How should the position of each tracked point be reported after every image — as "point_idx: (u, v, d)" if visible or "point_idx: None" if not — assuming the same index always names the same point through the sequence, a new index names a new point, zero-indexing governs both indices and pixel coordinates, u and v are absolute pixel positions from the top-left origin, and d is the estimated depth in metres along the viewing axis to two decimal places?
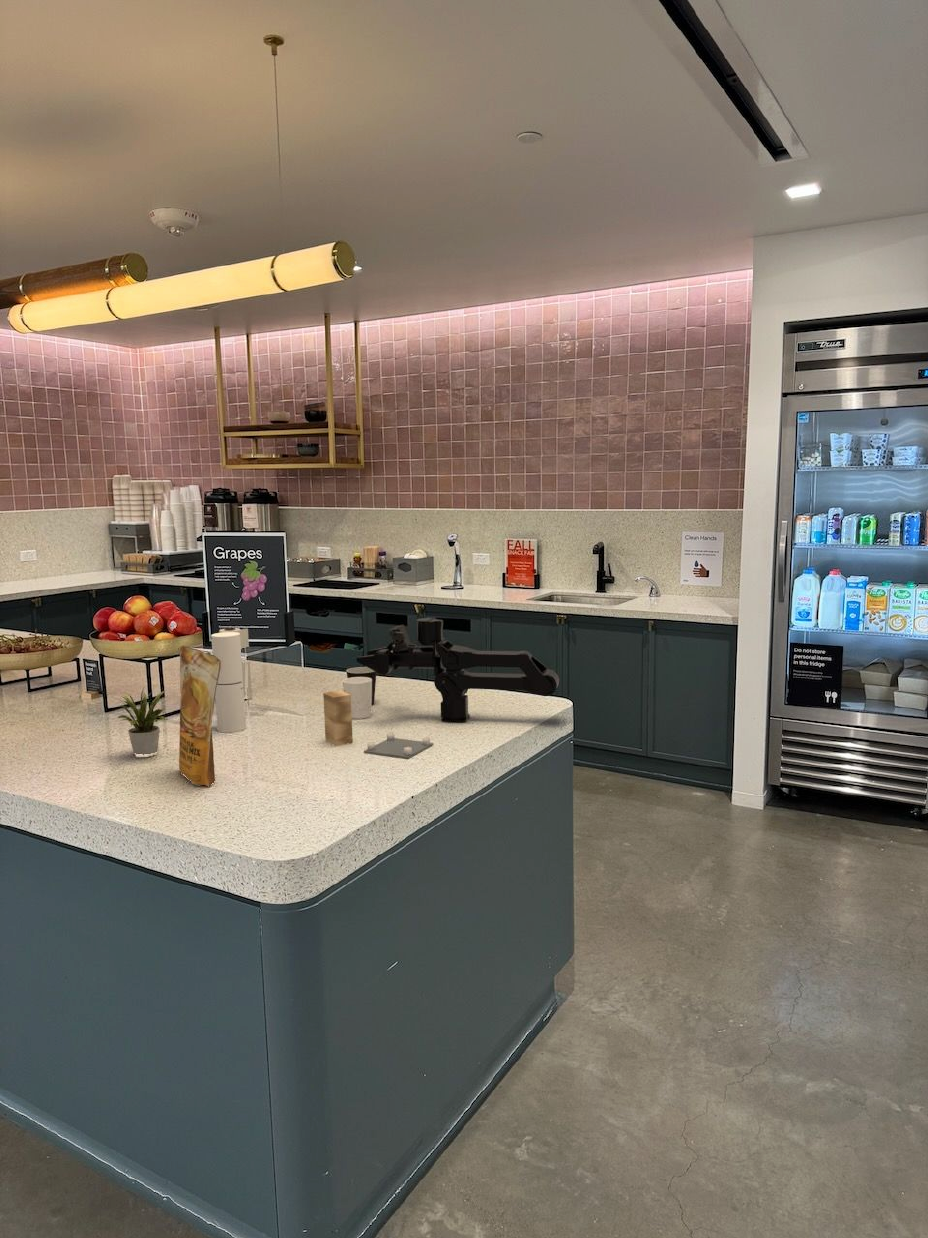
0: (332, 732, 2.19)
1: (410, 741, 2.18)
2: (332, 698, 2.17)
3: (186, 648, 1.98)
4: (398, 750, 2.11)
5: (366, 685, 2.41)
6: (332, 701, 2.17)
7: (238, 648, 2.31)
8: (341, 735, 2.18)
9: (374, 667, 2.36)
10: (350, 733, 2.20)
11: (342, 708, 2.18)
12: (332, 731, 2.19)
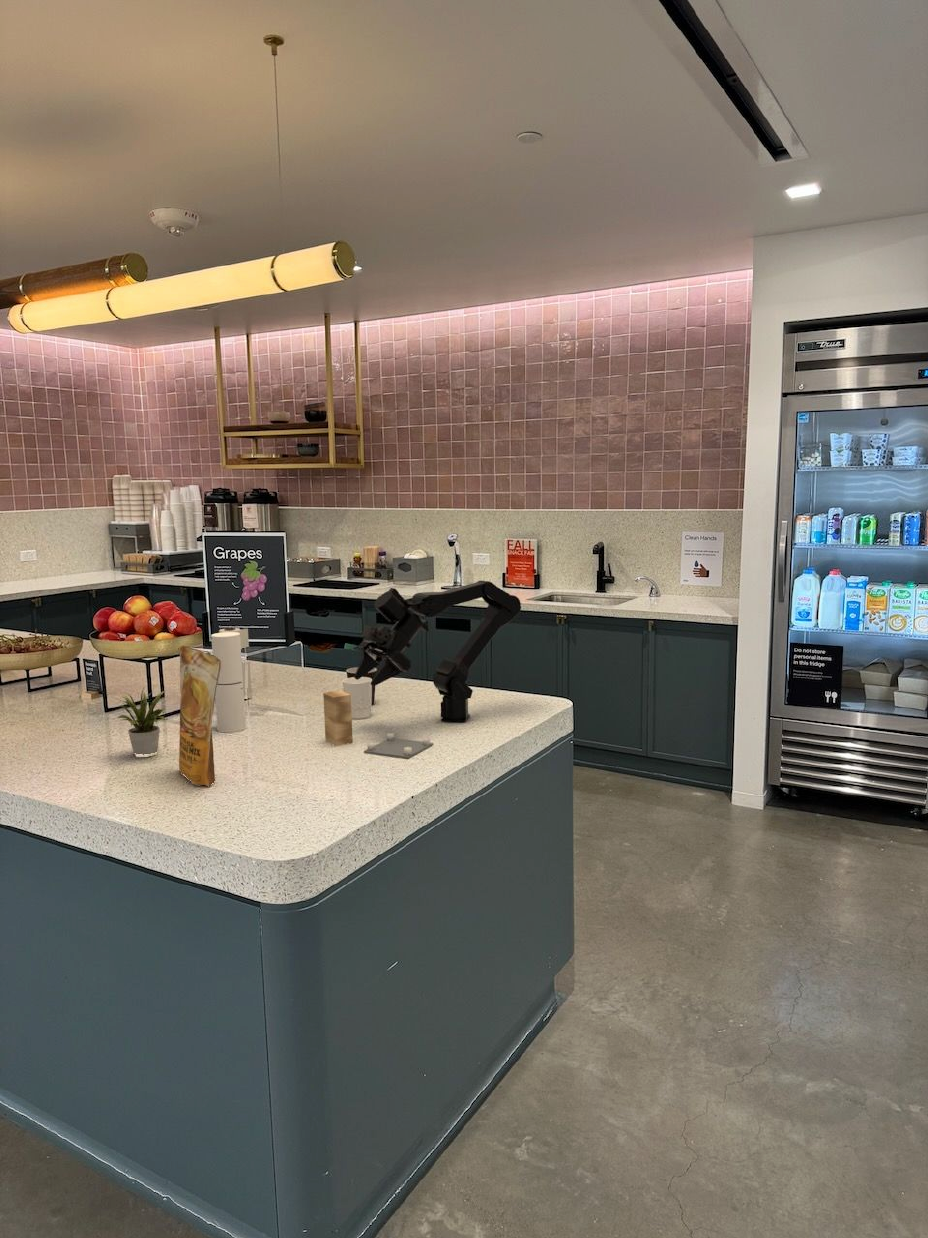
0: (332, 732, 2.19)
1: (410, 741, 2.18)
2: (332, 698, 2.17)
3: (186, 648, 1.98)
4: (398, 750, 2.11)
5: (366, 685, 2.41)
6: (332, 701, 2.17)
7: (238, 648, 2.31)
8: (341, 735, 2.18)
9: (393, 673, 2.21)
10: (350, 733, 2.20)
11: (342, 708, 2.18)
12: (332, 731, 2.19)
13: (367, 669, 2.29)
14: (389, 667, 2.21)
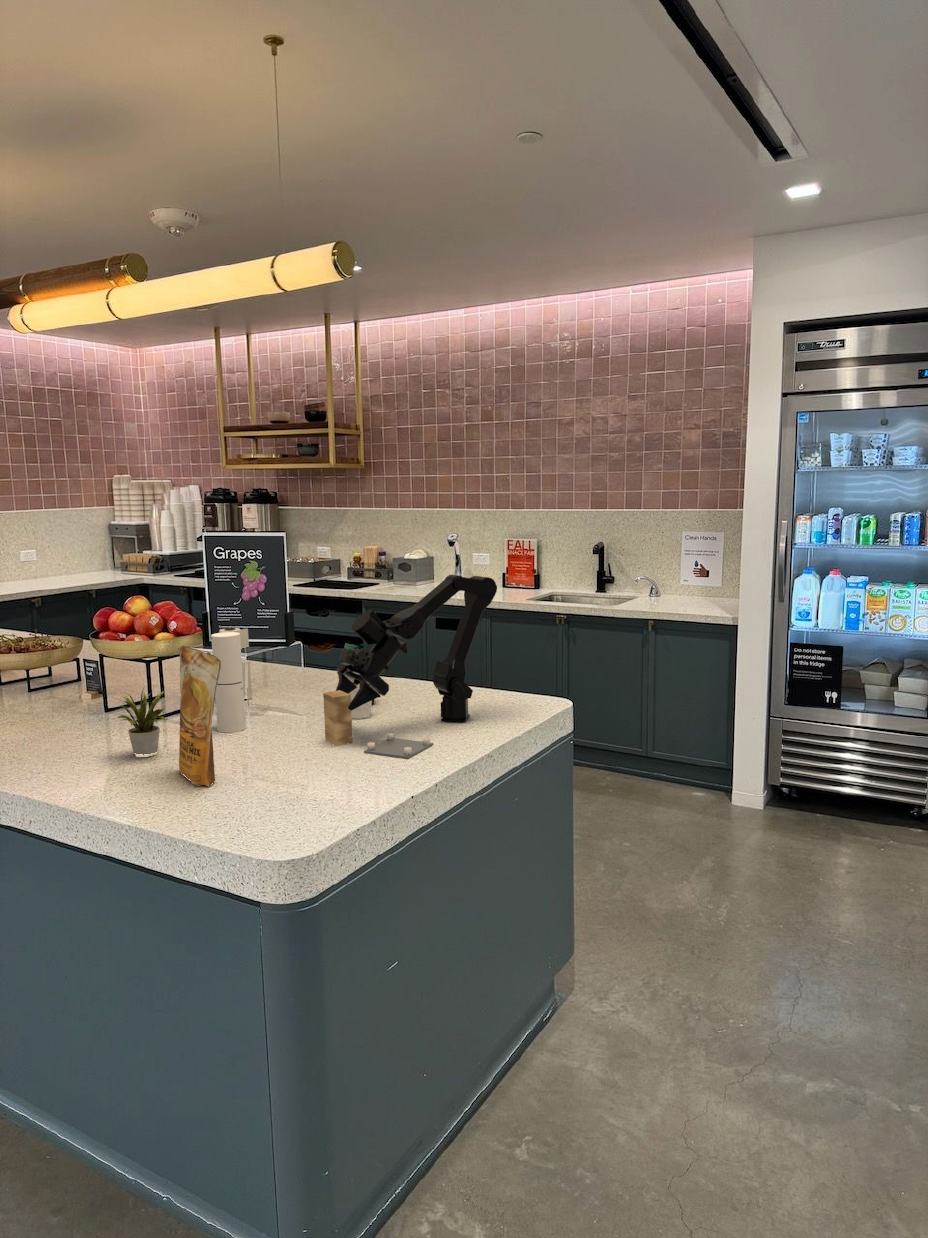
0: (332, 732, 2.19)
1: (410, 741, 2.18)
2: (332, 698, 2.17)
3: (186, 648, 1.98)
4: (398, 750, 2.11)
5: None
6: (332, 701, 2.17)
7: (238, 648, 2.31)
8: (341, 735, 2.18)
9: (371, 697, 2.18)
10: (350, 733, 2.20)
11: (342, 708, 2.18)
12: (332, 731, 2.19)
13: (345, 692, 2.26)
14: (367, 691, 2.18)
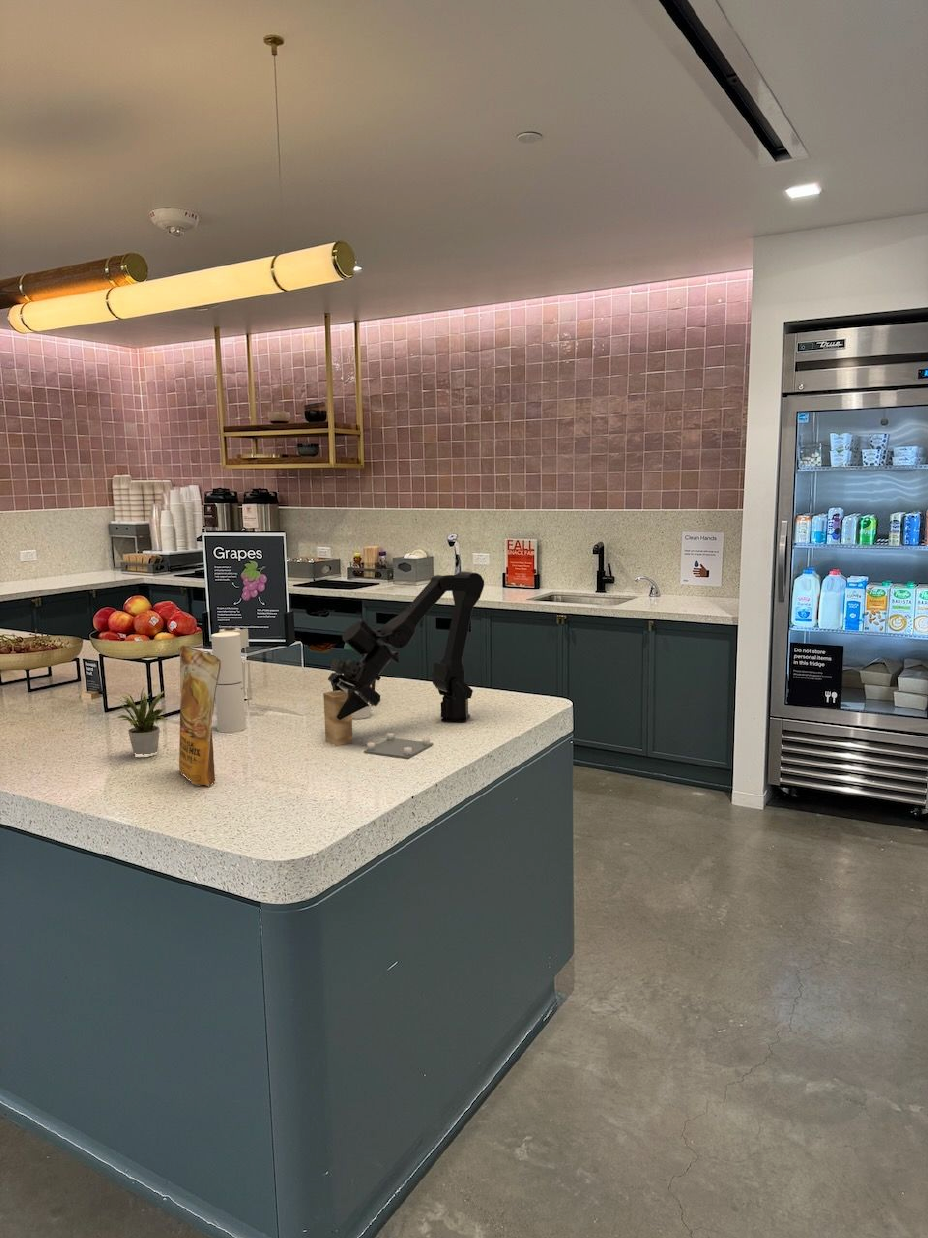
0: (332, 732, 2.19)
1: (410, 741, 2.18)
2: (332, 698, 2.17)
3: (186, 648, 1.98)
4: (398, 750, 2.11)
5: None
6: (332, 701, 2.17)
7: (238, 648, 2.31)
8: (341, 735, 2.18)
9: (359, 706, 2.18)
10: (350, 733, 2.20)
11: None
12: (332, 730, 2.19)
13: None
14: (355, 700, 2.18)
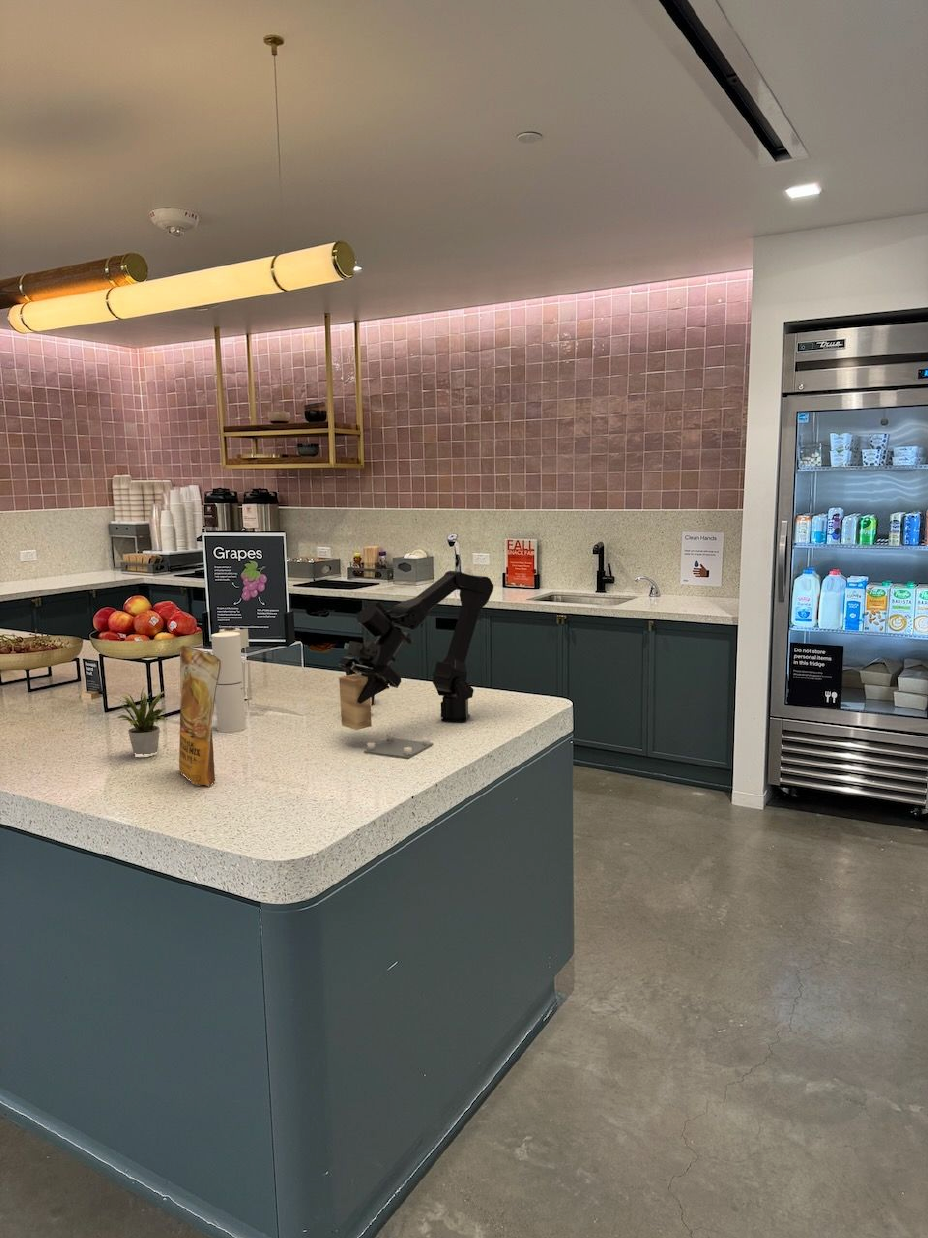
0: (352, 716, 2.15)
1: (410, 741, 2.18)
2: (352, 682, 2.13)
3: (186, 648, 1.98)
4: (398, 750, 2.11)
5: None
6: (352, 685, 2.13)
7: (238, 648, 2.31)
8: (361, 719, 2.15)
9: (379, 688, 2.15)
10: (369, 716, 2.16)
11: None
12: (352, 715, 2.15)
13: None
14: (375, 683, 2.15)
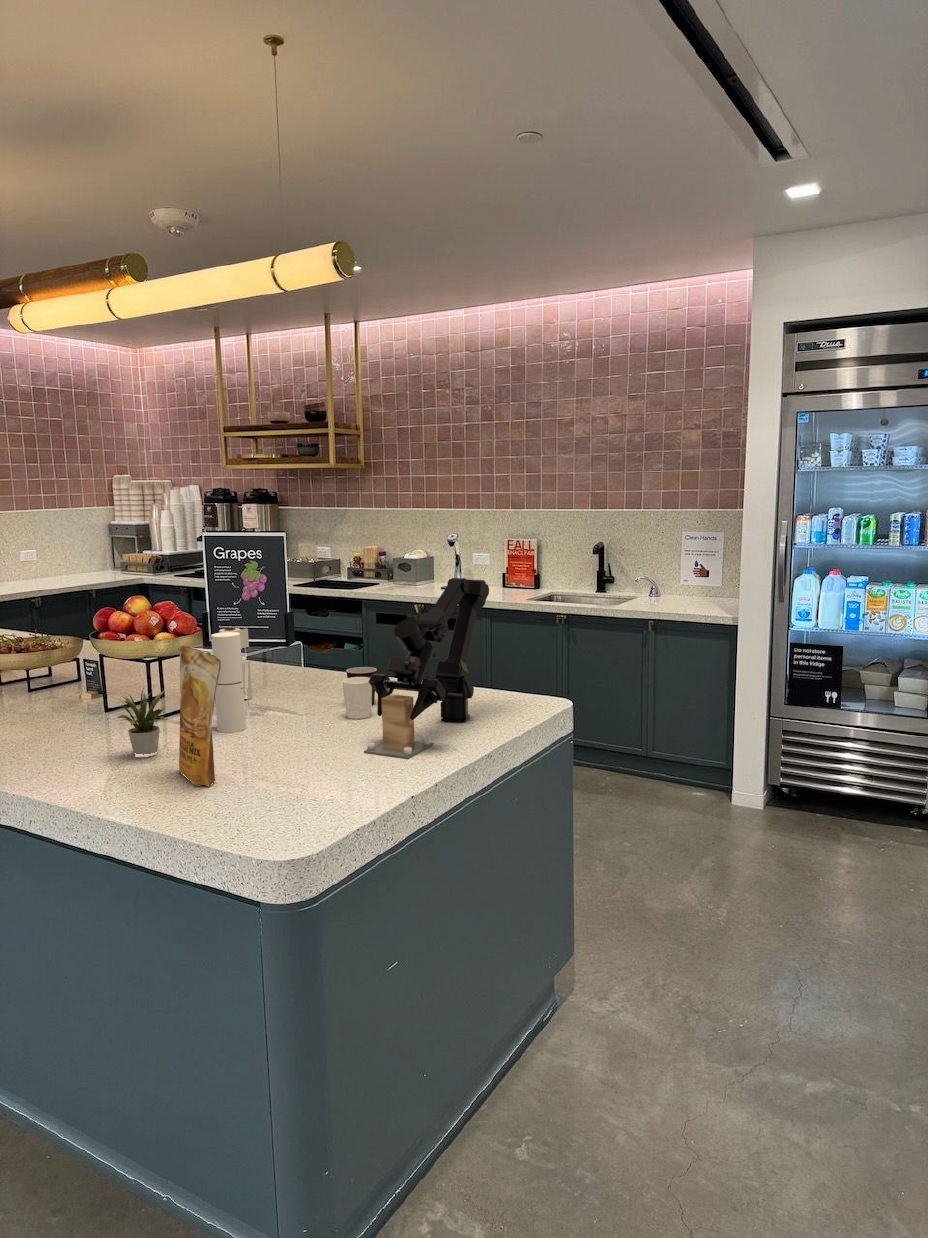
0: (399, 737, 2.11)
1: None
2: (400, 702, 2.09)
3: (186, 648, 1.98)
4: (398, 750, 2.11)
5: (366, 685, 2.41)
6: (400, 705, 2.10)
7: (238, 648, 2.31)
8: (408, 739, 2.12)
9: (428, 703, 2.13)
10: (413, 736, 2.14)
11: (408, 711, 2.11)
12: (399, 736, 2.11)
13: None
14: (424, 698, 2.13)
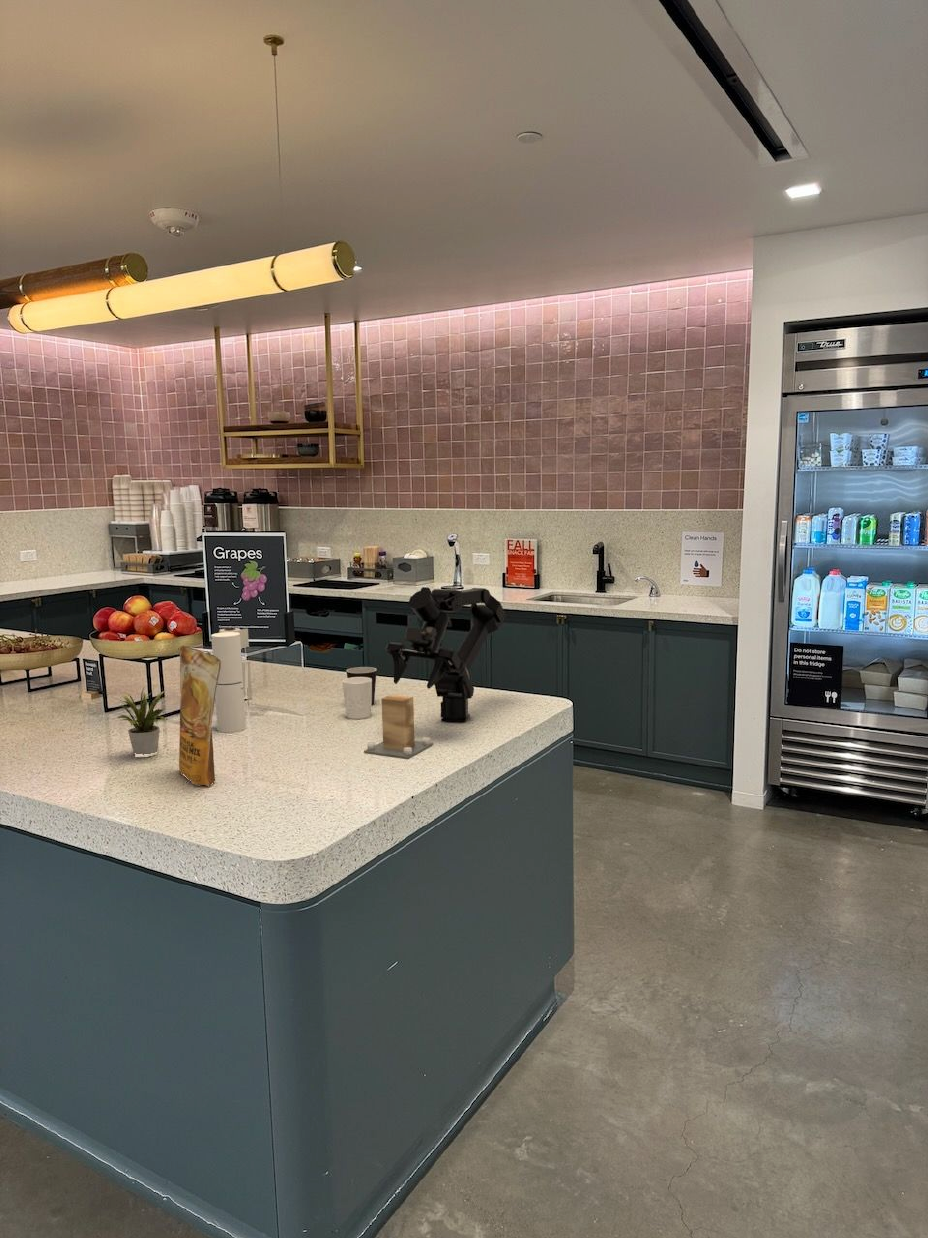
0: (399, 737, 2.11)
1: None
2: (400, 702, 2.09)
3: (186, 648, 1.98)
4: (398, 750, 2.11)
5: (366, 685, 2.41)
6: (400, 705, 2.10)
7: (238, 648, 2.31)
8: (408, 739, 2.12)
9: (444, 672, 2.21)
10: (413, 736, 2.14)
11: (408, 711, 2.11)
12: (399, 736, 2.11)
13: (401, 672, 2.24)
14: (440, 667, 2.20)
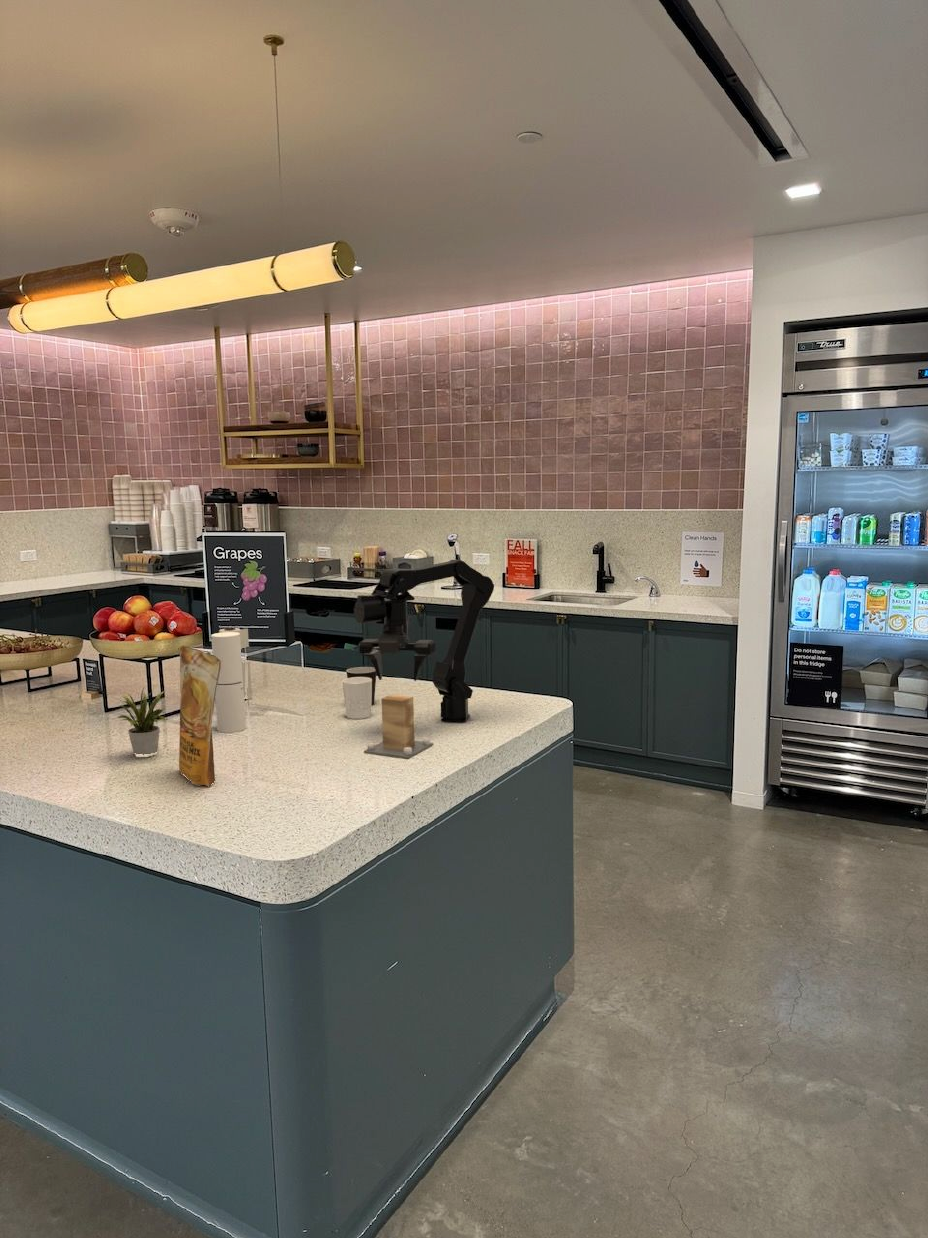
0: (399, 737, 2.11)
1: None
2: (400, 702, 2.09)
3: (186, 648, 1.98)
4: (398, 750, 2.11)
5: (366, 685, 2.41)
6: (400, 705, 2.10)
7: (238, 648, 2.31)
8: (408, 739, 2.12)
9: (423, 658, 2.28)
10: (413, 736, 2.14)
11: (408, 711, 2.11)
12: (399, 736, 2.11)
13: (380, 664, 2.30)
14: None
